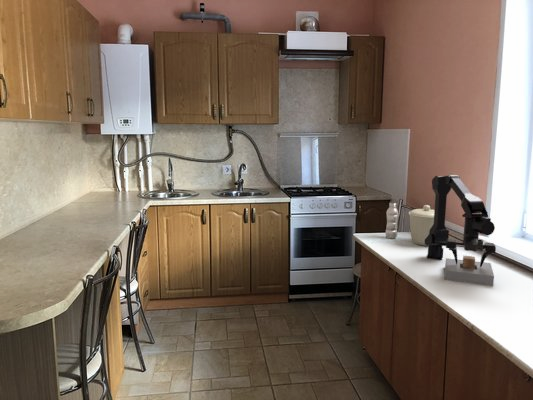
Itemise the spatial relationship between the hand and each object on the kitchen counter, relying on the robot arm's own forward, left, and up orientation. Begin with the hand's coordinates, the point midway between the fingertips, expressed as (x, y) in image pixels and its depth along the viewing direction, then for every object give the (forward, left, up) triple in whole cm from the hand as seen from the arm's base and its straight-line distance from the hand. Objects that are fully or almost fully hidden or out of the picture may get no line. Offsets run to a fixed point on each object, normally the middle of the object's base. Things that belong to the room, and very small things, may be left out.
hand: (468, 265), depth 186 cm
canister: (-20, +47, -5) cm, 51 cm away
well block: (0, 0, -4) cm, 4 cm away
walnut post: (0, 0, -4) cm, 4 cm away
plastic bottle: (-38, +52, -5) cm, 65 cm away
